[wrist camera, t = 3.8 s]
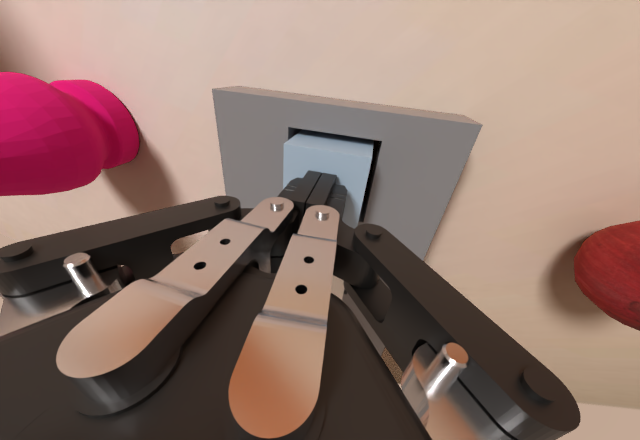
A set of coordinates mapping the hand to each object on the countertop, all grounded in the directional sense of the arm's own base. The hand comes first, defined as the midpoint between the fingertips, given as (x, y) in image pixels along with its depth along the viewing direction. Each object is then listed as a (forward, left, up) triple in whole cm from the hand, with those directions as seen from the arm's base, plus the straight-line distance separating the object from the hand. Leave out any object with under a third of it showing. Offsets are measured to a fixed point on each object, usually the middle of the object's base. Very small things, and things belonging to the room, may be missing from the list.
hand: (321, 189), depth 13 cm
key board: (0, +7, -5) cm, 9 cm away
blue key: (0, 0, -4) cm, 4 cm away
